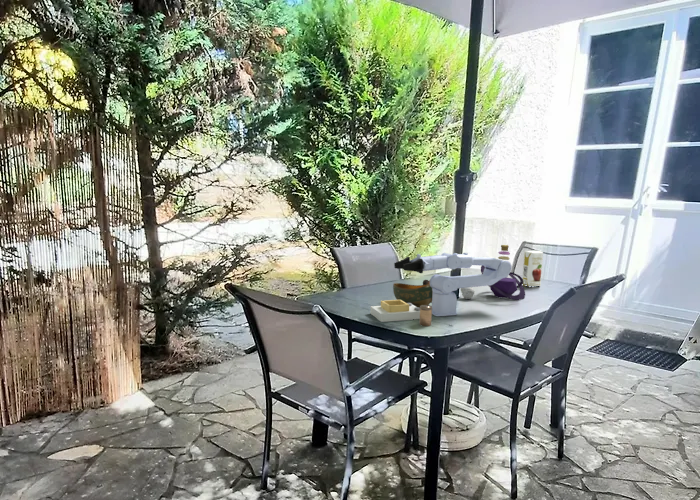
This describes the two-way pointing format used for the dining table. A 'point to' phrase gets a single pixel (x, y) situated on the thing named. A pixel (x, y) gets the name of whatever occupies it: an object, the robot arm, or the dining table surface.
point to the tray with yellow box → (395, 311)
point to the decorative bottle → (507, 281)
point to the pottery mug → (426, 282)
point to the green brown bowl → (413, 293)
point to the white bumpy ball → (467, 292)
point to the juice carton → (532, 268)
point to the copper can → (425, 315)
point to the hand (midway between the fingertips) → (399, 266)
